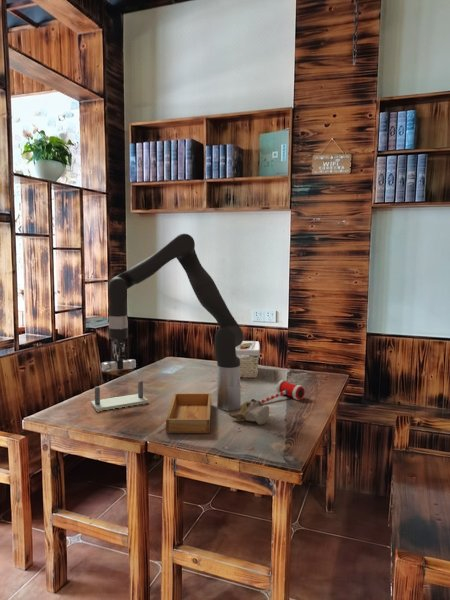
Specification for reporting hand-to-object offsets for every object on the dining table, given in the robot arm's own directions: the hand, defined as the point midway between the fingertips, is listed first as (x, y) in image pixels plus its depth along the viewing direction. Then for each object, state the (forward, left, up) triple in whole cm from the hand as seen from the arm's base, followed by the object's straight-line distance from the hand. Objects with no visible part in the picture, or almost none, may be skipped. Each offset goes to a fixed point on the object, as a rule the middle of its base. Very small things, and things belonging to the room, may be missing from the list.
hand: (119, 367), depth 187 cm
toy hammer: (-27, -63, -16) cm, 70 cm away
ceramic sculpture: (-42, -38, -16) cm, 59 cm away
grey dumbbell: (0, 0, 0) cm, 0 cm away
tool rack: (0, 0, -15) cm, 15 cm away
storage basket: (+18, -71, -16) cm, 75 cm away
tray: (-28, -19, -16) cm, 38 cm away
